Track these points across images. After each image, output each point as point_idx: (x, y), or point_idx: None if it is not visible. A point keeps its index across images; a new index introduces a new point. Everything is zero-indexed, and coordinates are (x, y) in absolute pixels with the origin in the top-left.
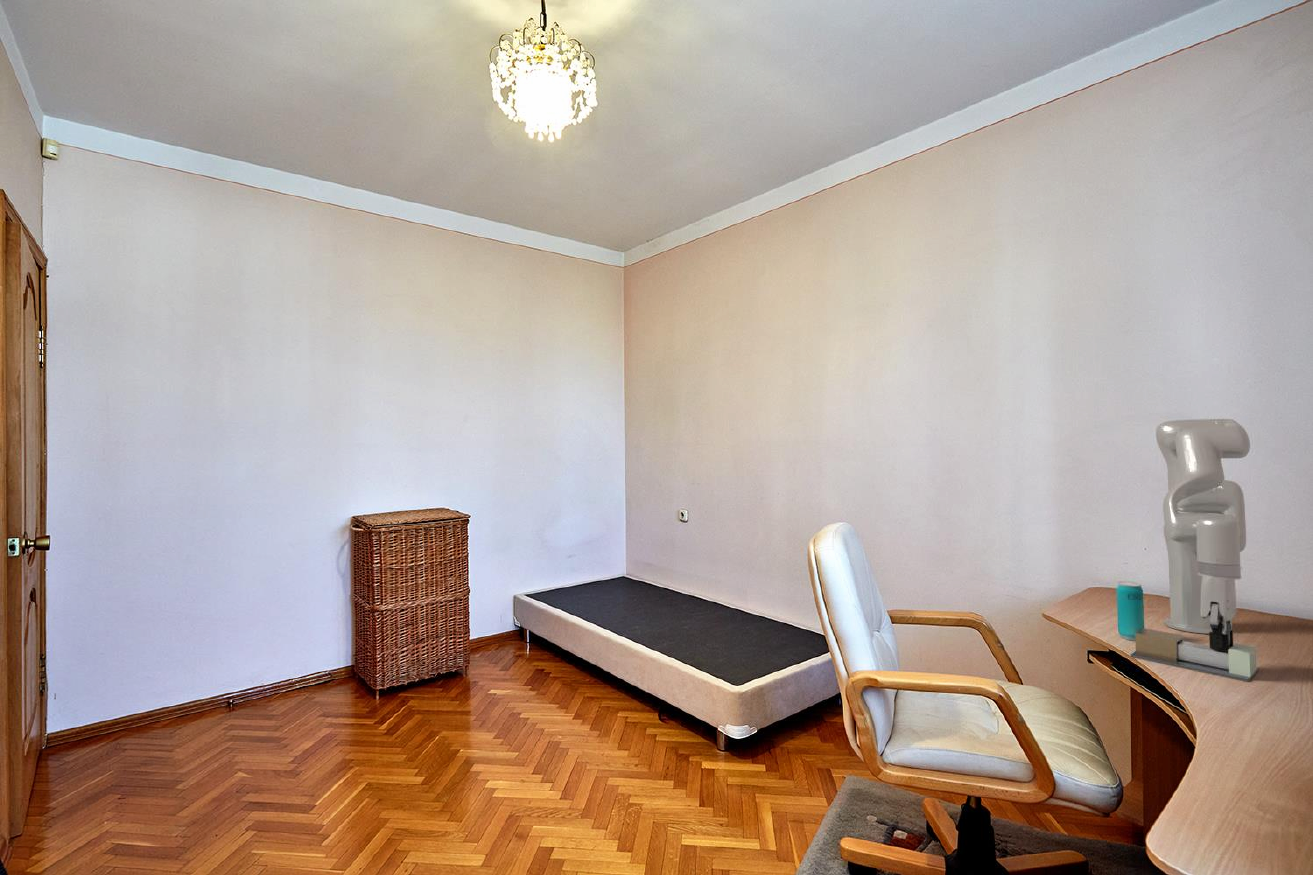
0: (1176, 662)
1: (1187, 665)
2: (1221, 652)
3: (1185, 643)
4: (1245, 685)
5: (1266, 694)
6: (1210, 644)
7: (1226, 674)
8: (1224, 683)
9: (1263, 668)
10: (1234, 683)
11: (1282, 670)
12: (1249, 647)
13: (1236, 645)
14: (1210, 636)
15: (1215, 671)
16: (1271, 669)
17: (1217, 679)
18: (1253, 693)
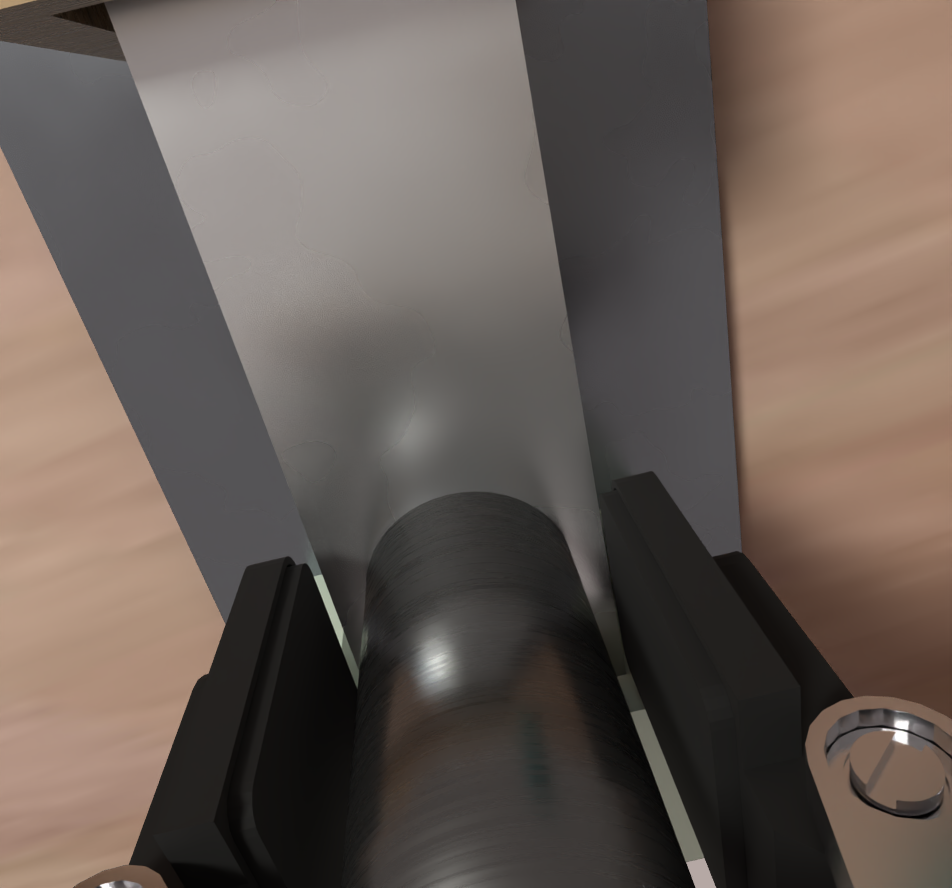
0: (75, 90)
1: (99, 244)
2: (343, 629)
3: (336, 86)
4: (148, 727)
5: (88, 857)
6: (240, 611)
7: (215, 592)
8: (5, 646)
9: (838, 585)
10: (105, 676)
11: (895, 664)
12: (679, 825)
13: (641, 733)
14: (202, 741)
15: (204, 505)
16: (858, 622)
17: (56, 571)
18: (5, 823)
